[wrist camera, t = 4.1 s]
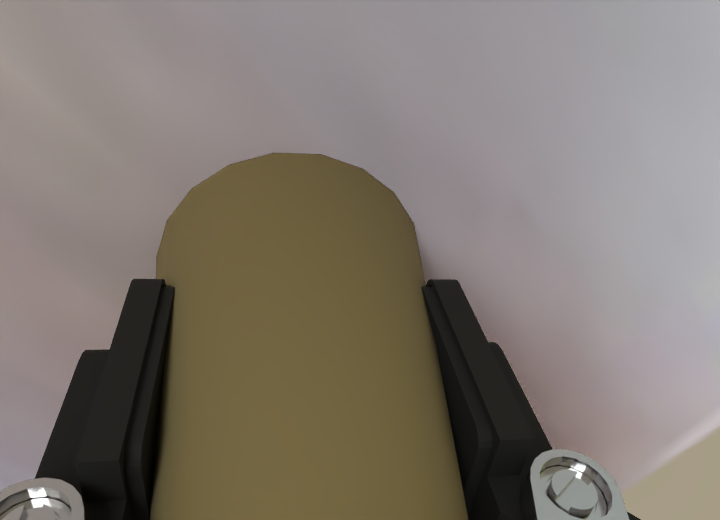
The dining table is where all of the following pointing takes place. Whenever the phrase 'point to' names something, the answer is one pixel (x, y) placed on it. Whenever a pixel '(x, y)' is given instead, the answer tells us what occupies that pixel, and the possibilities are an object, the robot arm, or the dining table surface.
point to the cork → (299, 353)
